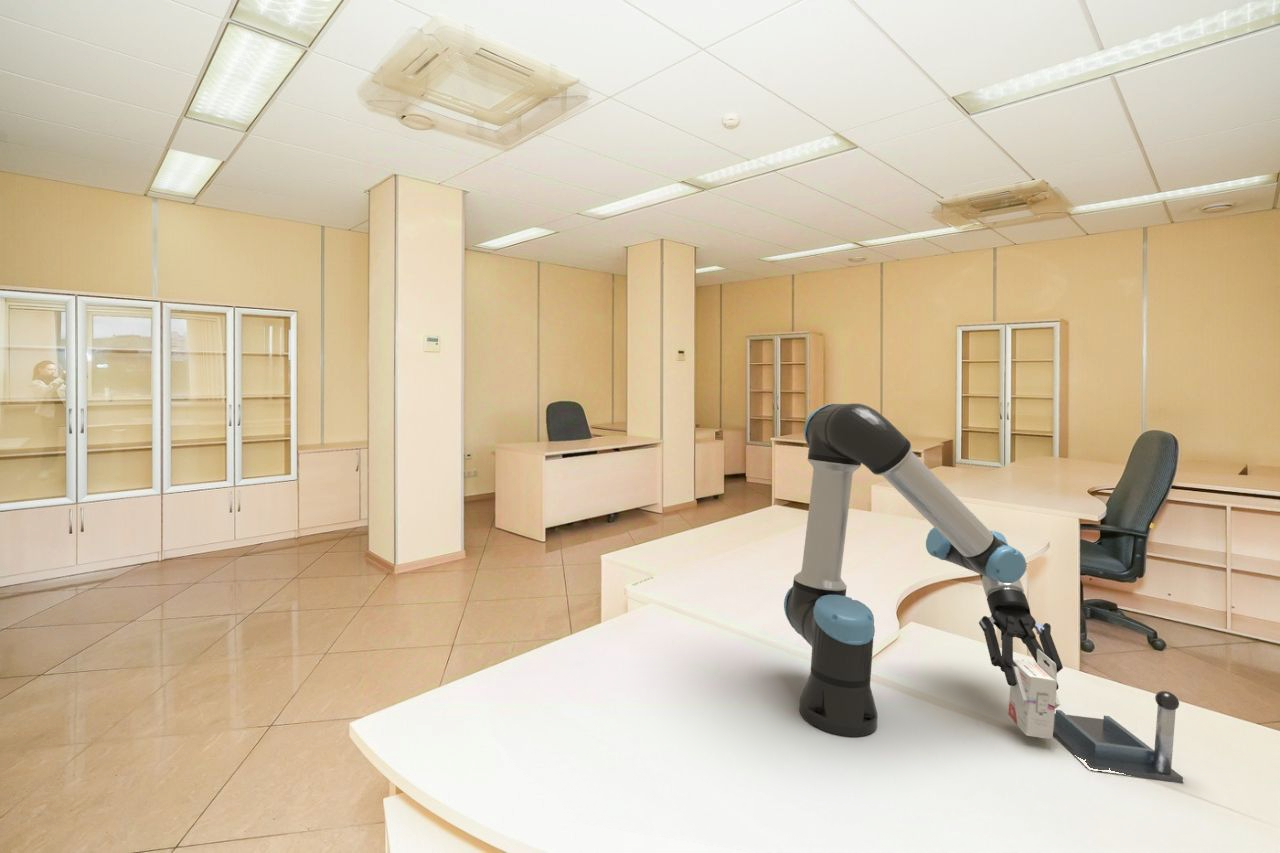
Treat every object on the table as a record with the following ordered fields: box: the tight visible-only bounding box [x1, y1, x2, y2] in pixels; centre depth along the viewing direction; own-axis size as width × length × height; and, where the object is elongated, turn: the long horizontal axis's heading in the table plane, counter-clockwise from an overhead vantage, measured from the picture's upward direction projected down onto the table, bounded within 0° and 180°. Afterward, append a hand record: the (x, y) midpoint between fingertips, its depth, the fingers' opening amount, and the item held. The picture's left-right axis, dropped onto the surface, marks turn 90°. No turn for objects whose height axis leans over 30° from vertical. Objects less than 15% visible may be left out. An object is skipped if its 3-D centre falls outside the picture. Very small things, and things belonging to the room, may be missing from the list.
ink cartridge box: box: [1007, 649, 1058, 740], centre depth 115 cm, size 9×5×15 cm, turn 169°
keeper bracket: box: [1053, 690, 1184, 784], centre depth 113 cm, size 15×20×15 cm
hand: (1038, 704), depth 112 cm, fingers closed on ink cartridge box, 5 cm apart
